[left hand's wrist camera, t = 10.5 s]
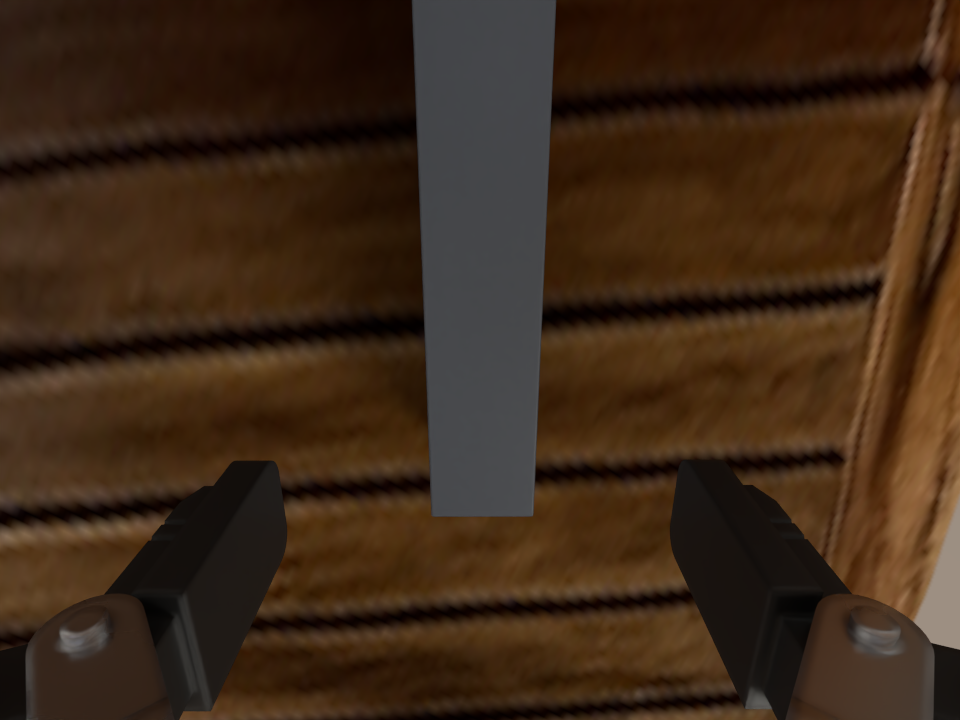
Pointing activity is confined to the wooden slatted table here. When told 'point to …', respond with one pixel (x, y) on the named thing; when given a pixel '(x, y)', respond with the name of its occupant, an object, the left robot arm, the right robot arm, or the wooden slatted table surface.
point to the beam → (483, 243)
